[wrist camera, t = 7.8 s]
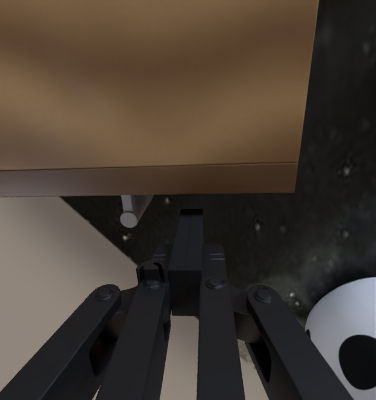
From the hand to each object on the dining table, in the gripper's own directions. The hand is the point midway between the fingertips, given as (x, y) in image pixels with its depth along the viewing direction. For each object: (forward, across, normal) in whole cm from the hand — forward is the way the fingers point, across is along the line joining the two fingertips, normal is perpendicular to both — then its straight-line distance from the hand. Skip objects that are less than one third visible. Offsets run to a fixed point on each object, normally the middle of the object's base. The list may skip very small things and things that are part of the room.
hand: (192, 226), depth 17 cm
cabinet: (+12, -4, +11) cm, 16 cm away
